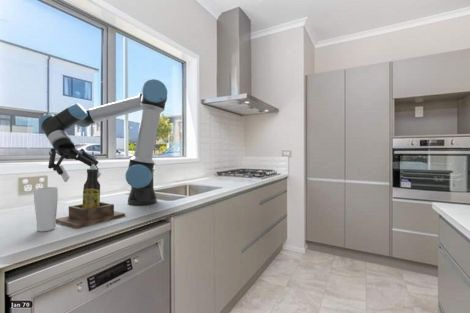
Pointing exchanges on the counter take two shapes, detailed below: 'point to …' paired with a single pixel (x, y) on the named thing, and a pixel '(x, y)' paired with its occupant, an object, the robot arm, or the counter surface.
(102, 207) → the walnut bottle holder
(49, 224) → the drinking glass
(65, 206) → the counter surface
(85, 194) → the sauce bottle
